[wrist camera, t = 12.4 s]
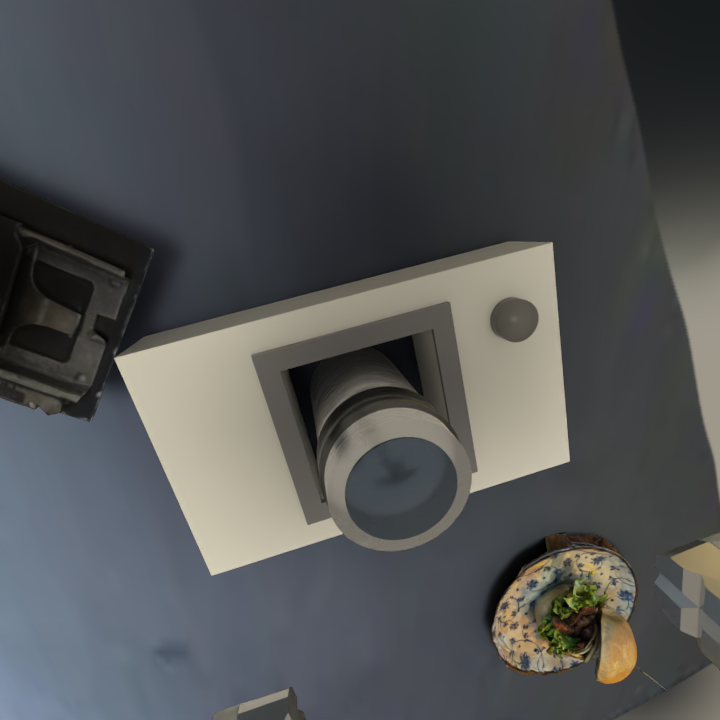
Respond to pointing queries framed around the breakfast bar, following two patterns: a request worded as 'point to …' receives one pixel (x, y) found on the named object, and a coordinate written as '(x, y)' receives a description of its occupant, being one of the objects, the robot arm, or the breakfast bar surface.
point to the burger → (570, 611)
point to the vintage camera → (61, 303)
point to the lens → (384, 454)
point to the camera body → (335, 337)
